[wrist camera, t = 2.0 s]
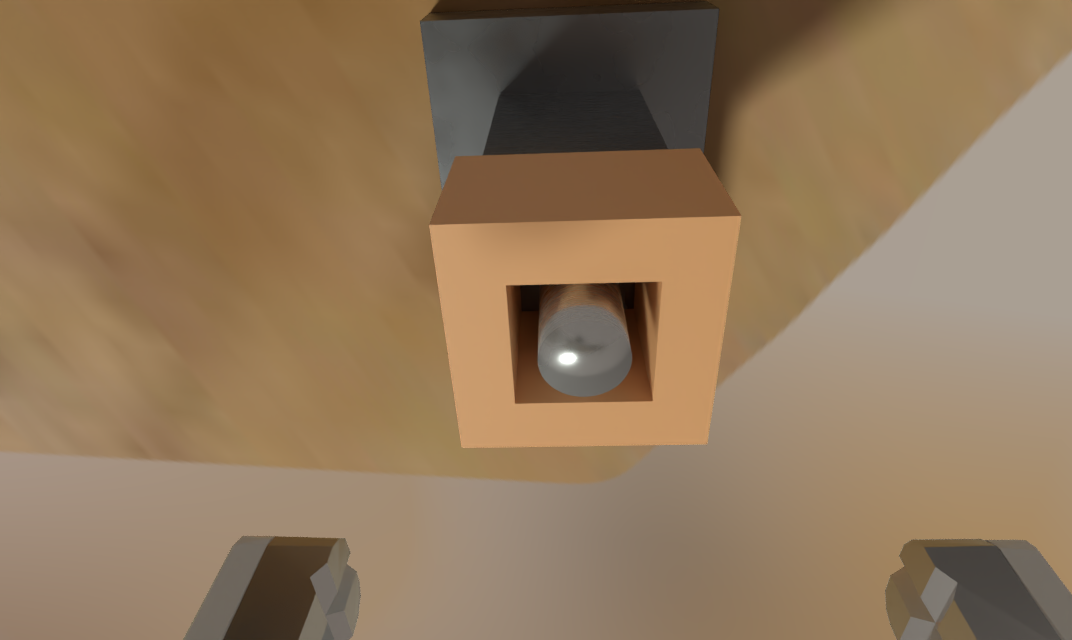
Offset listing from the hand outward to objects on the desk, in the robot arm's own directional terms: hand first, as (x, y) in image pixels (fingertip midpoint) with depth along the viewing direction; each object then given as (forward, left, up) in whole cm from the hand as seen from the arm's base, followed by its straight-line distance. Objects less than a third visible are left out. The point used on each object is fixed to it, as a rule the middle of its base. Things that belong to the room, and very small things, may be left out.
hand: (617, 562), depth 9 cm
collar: (0, 0, -9) cm, 9 cm away
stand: (0, 0, -19) cm, 19 cm away
